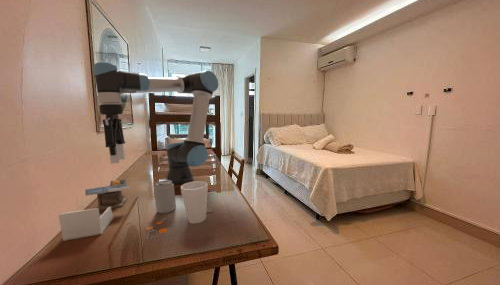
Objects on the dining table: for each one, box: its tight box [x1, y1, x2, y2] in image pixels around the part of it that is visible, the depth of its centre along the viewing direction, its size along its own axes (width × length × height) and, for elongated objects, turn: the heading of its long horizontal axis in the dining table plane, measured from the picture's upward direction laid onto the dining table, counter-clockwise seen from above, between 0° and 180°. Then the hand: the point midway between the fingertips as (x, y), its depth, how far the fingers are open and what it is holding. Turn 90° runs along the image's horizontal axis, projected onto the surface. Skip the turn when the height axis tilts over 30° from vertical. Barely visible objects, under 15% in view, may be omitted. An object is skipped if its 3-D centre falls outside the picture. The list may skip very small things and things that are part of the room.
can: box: [153, 179, 177, 215], centre depth 84 cm, size 8×8×12 cm
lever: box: [84, 179, 132, 196], centre depth 93 cm, size 28×13×4 cm, turn 16°
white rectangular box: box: [58, 207, 114, 242], centre depth 72 cm, size 12×11×9 cm
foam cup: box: [180, 180, 209, 224], centre depth 75 cm, size 10×9×13 cm
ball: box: [112, 180, 120, 186], centre depth 101 cm, size 4×4×4 cm
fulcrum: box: [94, 186, 128, 211], centre depth 92 cm, size 8×11×8 cm
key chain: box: [145, 217, 168, 240], centre depth 71 cm, size 13×7×1 cm, turn 23°
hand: (118, 161), depth 84 cm, fingers open, 7 cm apart
